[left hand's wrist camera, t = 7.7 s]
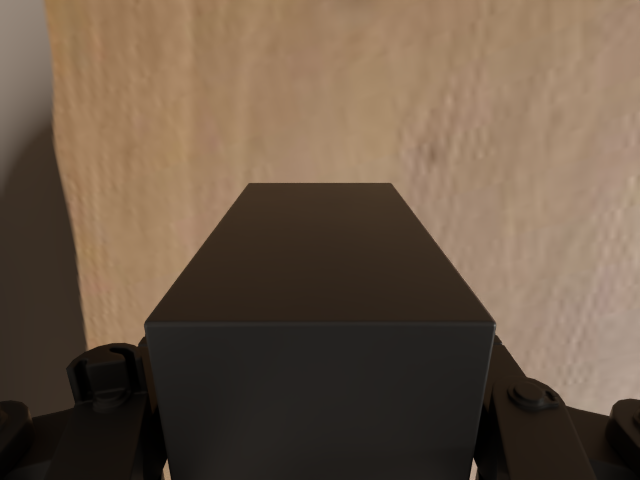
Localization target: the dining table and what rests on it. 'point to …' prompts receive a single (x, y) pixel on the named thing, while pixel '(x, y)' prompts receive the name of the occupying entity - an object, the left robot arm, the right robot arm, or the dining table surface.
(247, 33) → the dining table surface
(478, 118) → the dining table surface
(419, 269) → the bar
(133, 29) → the dining table surface
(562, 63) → the dining table surface
